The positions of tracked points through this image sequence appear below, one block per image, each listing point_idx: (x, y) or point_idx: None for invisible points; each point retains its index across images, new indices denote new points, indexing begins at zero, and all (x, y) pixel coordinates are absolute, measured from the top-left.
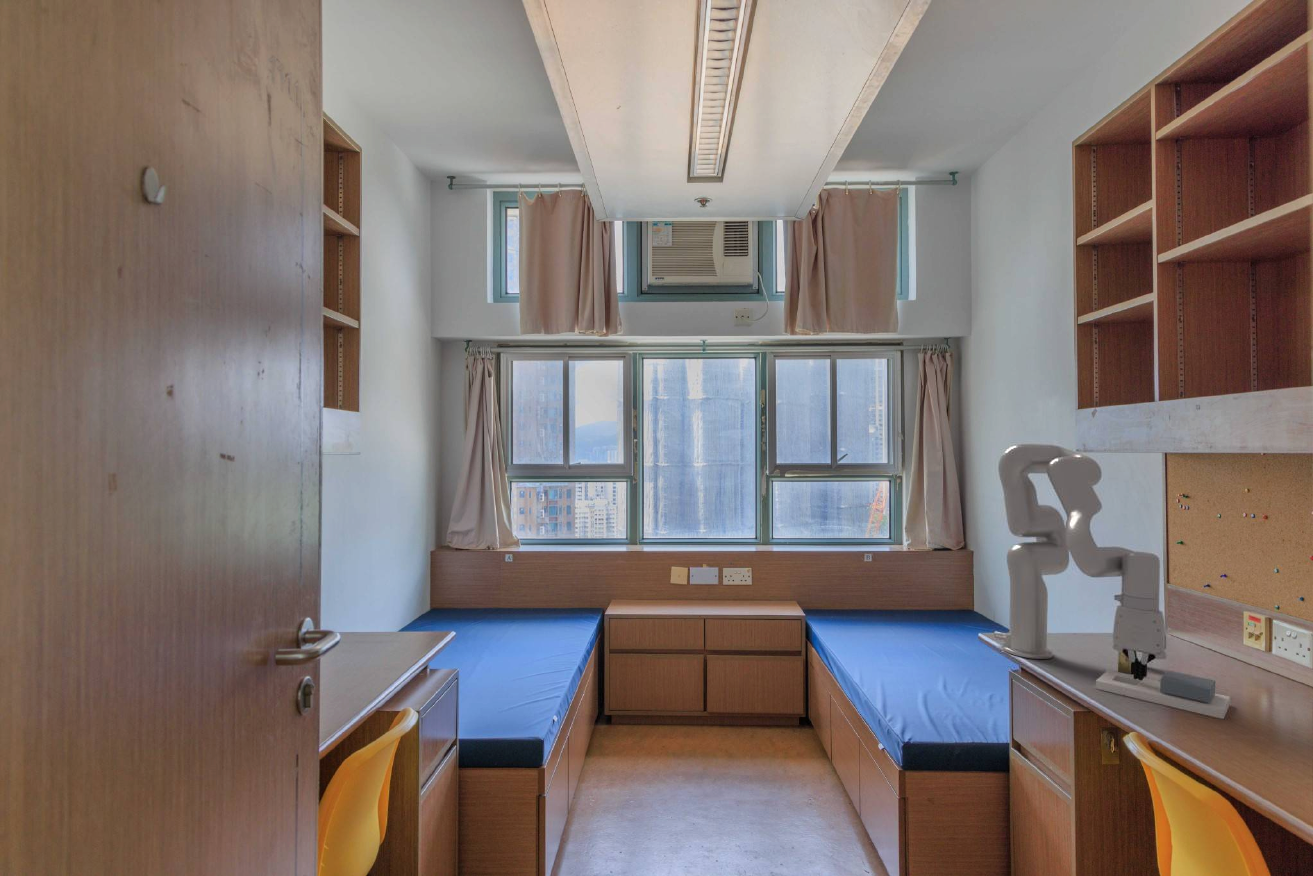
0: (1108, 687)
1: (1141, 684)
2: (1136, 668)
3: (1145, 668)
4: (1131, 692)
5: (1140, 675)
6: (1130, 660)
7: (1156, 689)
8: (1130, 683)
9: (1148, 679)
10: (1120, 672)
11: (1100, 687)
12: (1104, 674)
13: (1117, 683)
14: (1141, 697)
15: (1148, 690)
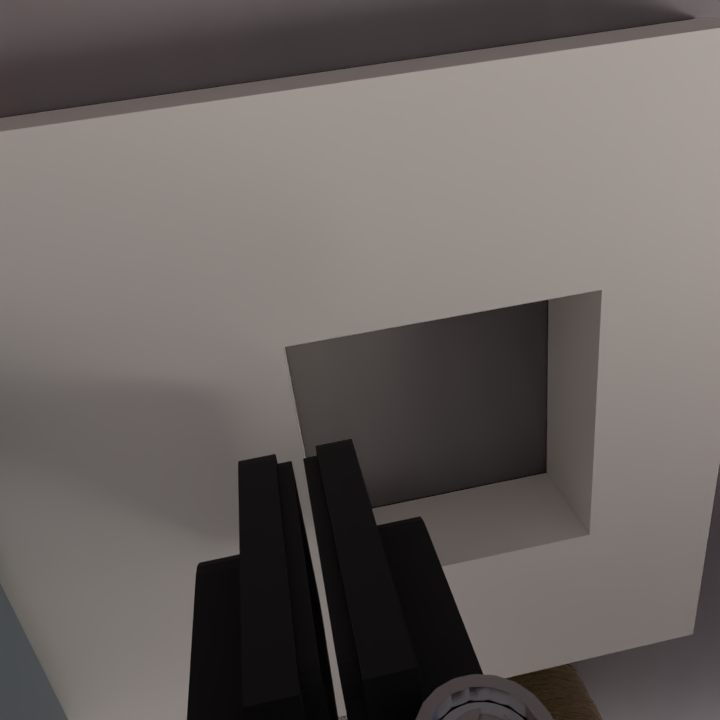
0: (574, 40)
1: None
2: (338, 584)
3: (192, 687)
4: (255, 87)
5: (252, 504)
6: (510, 709)
7: (27, 431)
8: None
9: None
10: (577, 708)
11: (663, 26)
12: (707, 448)
13: (501, 186)
14: (116, 103)
15: (57, 267)
